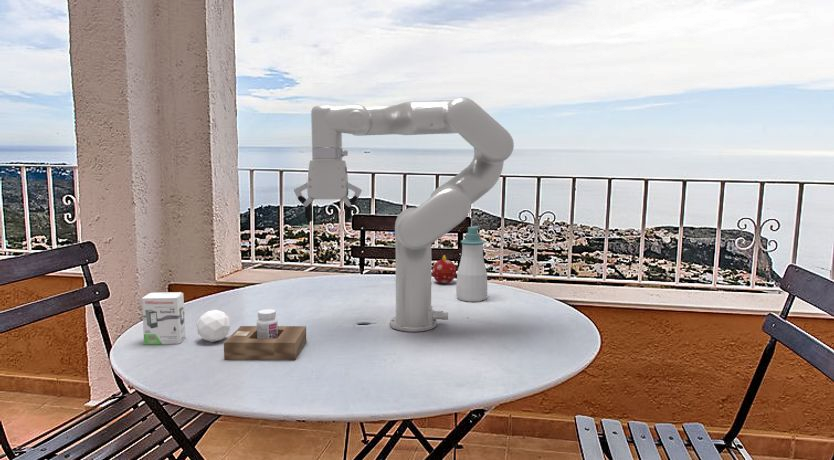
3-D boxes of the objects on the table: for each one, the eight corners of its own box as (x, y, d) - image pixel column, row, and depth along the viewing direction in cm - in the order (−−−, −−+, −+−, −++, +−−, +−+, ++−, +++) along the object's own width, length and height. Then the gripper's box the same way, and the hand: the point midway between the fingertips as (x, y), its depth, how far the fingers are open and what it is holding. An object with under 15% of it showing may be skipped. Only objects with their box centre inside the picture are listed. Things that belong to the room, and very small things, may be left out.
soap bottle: (492, 297, 181) (493, 226, 177) (478, 304, 172) (480, 230, 169) (465, 293, 186) (466, 224, 183) (450, 299, 178) (451, 228, 174)
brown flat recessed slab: (306, 342, 138) (306, 325, 138) (295, 360, 126) (294, 342, 126) (241, 341, 138) (240, 325, 138) (224, 359, 126) (223, 342, 126)
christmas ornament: (430, 285, 197) (430, 257, 195) (433, 280, 205) (433, 252, 204) (455, 286, 195) (455, 258, 194) (457, 280, 204) (457, 253, 202)
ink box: (143, 345, 136) (140, 297, 134) (151, 338, 141) (148, 292, 139) (179, 344, 136) (177, 297, 135) (186, 337, 141) (184, 291, 140)
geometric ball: (207, 350, 140) (194, 322, 142) (238, 335, 143) (225, 308, 145) (201, 344, 133) (188, 315, 135) (234, 329, 136) (220, 300, 138)
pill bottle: (273, 350, 129) (271, 314, 128) (253, 348, 130) (252, 313, 129) (281, 343, 134) (280, 309, 133) (263, 342, 135) (261, 308, 134)
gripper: (362, 155, 147) (363, 219, 150) (296, 154, 147) (298, 219, 150) (359, 155, 140) (360, 223, 142) (289, 155, 140) (291, 223, 142)
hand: (328, 221), depth 146 cm, fingers open, 9 cm apart
